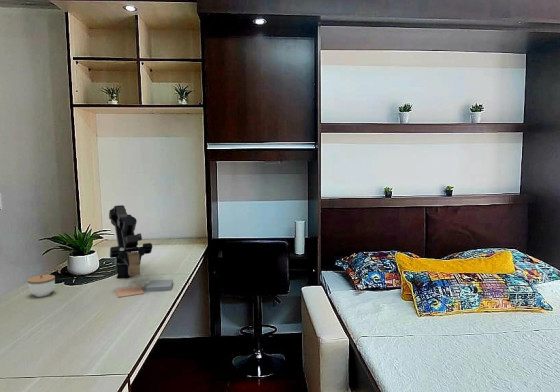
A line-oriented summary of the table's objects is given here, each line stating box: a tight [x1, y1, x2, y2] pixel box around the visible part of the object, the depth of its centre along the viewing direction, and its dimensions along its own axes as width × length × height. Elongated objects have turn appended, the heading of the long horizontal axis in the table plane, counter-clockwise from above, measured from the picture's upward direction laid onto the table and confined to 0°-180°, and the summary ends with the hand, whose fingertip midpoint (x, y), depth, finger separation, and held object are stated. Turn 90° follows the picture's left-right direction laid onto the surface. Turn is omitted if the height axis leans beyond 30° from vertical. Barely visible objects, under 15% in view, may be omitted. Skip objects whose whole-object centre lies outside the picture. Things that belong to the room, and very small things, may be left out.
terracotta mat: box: [116, 285, 145, 298], centre depth 186 cm, size 11×11×1 cm
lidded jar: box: [27, 274, 56, 298], centre depth 183 cm, size 11×11×9 cm
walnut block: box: [127, 251, 141, 277], centre depth 186 cm, size 4×4×10 cm
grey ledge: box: [145, 278, 174, 292], centre depth 193 cm, size 11×11×2 cm
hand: (134, 265), depth 185 cm, fingers closed on walnut block, 4 cm apart
